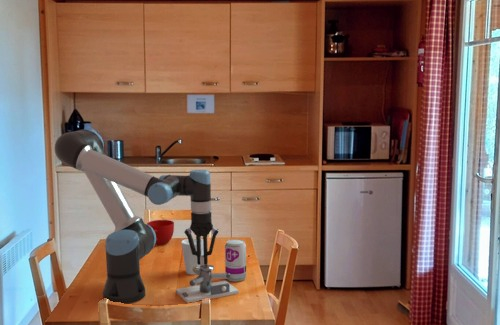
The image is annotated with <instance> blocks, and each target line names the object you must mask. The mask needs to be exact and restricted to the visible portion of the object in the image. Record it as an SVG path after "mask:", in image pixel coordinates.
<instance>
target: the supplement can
mask: <svg viewBox="0 0 500 325" xmlns="http://www.w3.org/2000/svg"><path fill="white" fill-rule="evenodd" d="M224 259H225V260H224V262H225V263H224V265H225V266H224V268H225V272H224V273H229V274H230V278H227V280H226V281H229V282H242V281H244V280H245V279H246V278H247V244H246V243H245V240H243V239H235V238H233V239H229V240H227V241H226V243H225V245H224Z"/></svg>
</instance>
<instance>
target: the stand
mask: <svg viewBox="0 0 500 325" xmlns="http://www.w3.org/2000/svg"><path fill="white" fill-rule="evenodd" d="M211 284H212V286H211V292H207V293H203V292H200V286H199V284H196V285H194V286H191V285H190V286H187V287H181V288H175V294H177V295H178V296H179V297H180V298H181V299H183V300H182V301H184V302H185V301H186V302H187V303H186V302H185V303H186V304H189V303H188V302H192V303H195V302H194V301H198V302H200V301H199V300H202V299H205V298H211V299H210V300H213V299H217V297H218V298H222V297H228V296H232V295H238V294H239V293H240V291H239V289H237V288H236V287H235V286H233V284H231V283H229V282H228V280H225V279H224V280H221V281H219V280H218V281H214V282H211ZM212 298H213V299H212Z"/></svg>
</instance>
